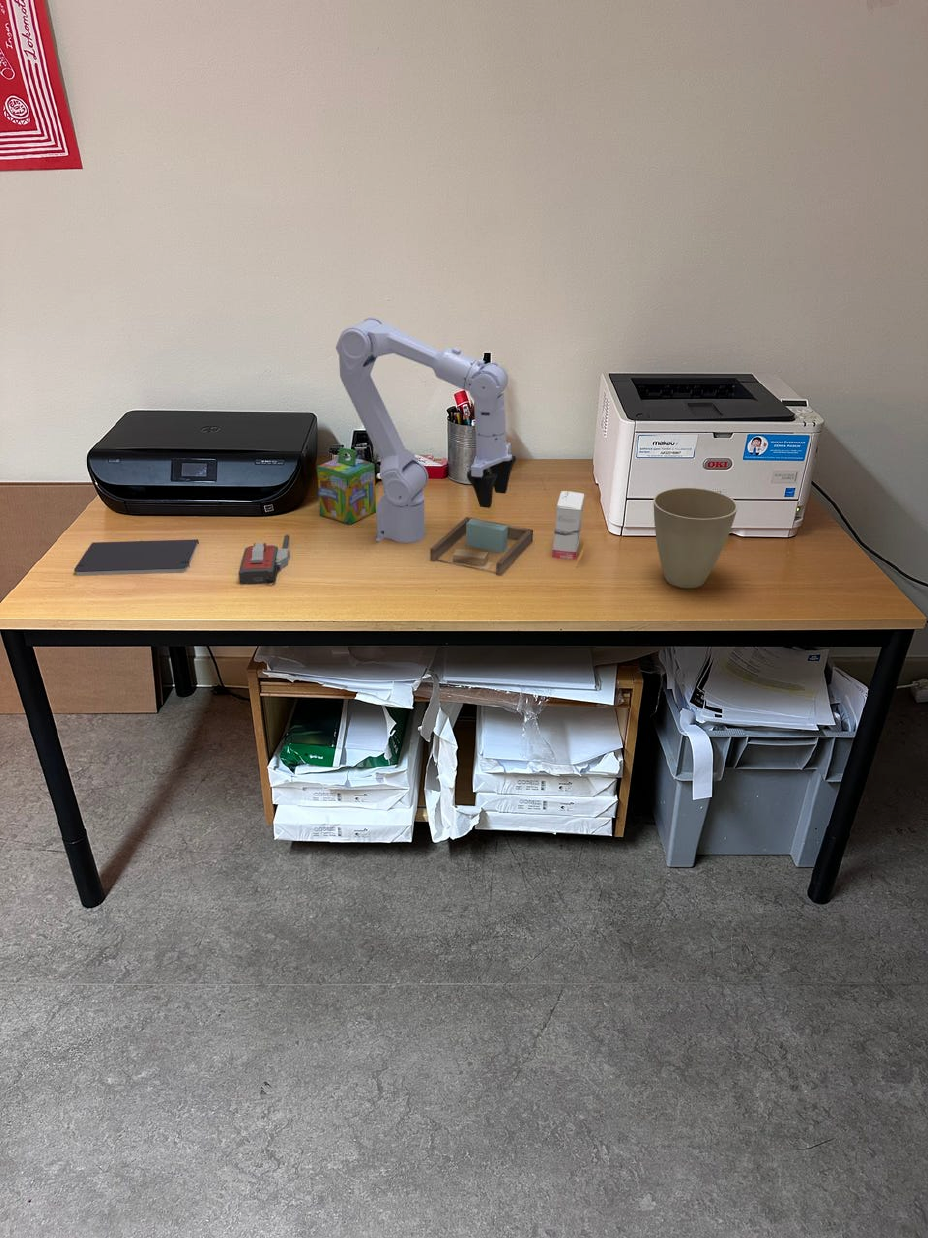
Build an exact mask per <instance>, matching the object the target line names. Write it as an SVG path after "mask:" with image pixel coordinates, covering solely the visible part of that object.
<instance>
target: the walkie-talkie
mask: <svg viewBox="0 0 928 1238" xmlns="http://www.w3.org/2000/svg"><path fill="white" fill-rule="evenodd" d="M290 536H291V535H289V534H285V535H284V538H283V544H282V548H278V546H276V545H272V544H271V545H268V544H266V543H267V542H255V543H253V545H250V546H249V545H248V546H247V547H245V548H244V551H243V555H242V558H241V561H240V562H241V563H240V567H239V570H238V578H239V583H240V584H241V585H262V584H263V585H264V584H273V583H275V582H276V581H277V575H278V571H282V570H283V569H285V568H287V567H288V565H289V561H290V559H291V554H290V548H289V543H290V542H289V541H290Z"/></svg>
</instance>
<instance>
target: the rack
mask: <svg viewBox="0 0 928 1238" xmlns="http://www.w3.org/2000/svg"><path fill="white" fill-rule="evenodd" d="M470 519H475V520H480V521H485V522H490V523H495V524H500V525H505V526H508V532H507V540H513V541H516V542H514V544H512V546H511V547H509V549H508V550H506V552H505V553H504V554H503V555H502V556H501V557H500V558H499V559H498V561H496V564H495V565H496V566H495V567H496V568H495V570H494V571H493V570H489V569H484V568H479V567H475V566H470V565H465V564H460V563H455V562H450V561H448V560H443V559H439V558H441V557H442V556H443V554H445V553H446V552H447V551H448V550H449V549H450V548H452V547H453V546H454V545H455V544H456V543H457V542H458V541H459V540H460V539H461V538H462V537H464V536H465V535H466V523H467V522H468V521H469V520H470ZM533 540H534V529H532V528H531V529H530V528H526V527H522V526H521V527H520V526H515V525H510V524H505V523H500V522H495V521H494V522H493V521H488V520H484V519H480V518H474V517H469V516H466V517H464V518H463V519H462V520H461V521H460V522H459V523H458V524H457V525H455V526H454V527H453V528H452V529H451V530H450V531H449V532H448V533H446V534H445V535H444V536H443V537H442V538H441V539H439V540H438V541H437V542H436V543H435V544H434V545H433V546H432V547H430V551H429V552H430V553H429V555H430V561H431V562H439V563H443V564H448V565H449V564H450V565H453V566H457V567H464V568H467V569H473V570H477V571H482V572H485V573H486V572H487V573H490V574H491V573H492V574H495V575H496V576H499V577H500V576H502V575H503V574H505V572H506V571H507V570H508V569H509V568H510V567H511V566H512V565H513V564H514V562H515V561H516V560H517V559H518V558H519V557H520V556H521V554H523V552H524V551H525V550H526V549H527V548H528V547H529V546H530V545H531V544H532V543H533Z"/></svg>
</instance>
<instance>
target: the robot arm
mask: <svg viewBox="0 0 928 1238" xmlns="http://www.w3.org/2000/svg"><path fill="white" fill-rule="evenodd" d="M335 349H336V351H337V354H338V357H339V358H338V359H339V377H340V380H341V382H342V384H343V386H344V388H345V390H346V392H347V395H348V397H349V398H350V400H351V403H352V404H353V407H354V409H355V410H356V413H357V415H358V417H359V419H360V422H361V423H362V426H363V427H364V429H365V431H366V433H367V435H368V437H369V439H370V442H371V444H372V446H373V447H374V449H375V452H376V454H377V456H378V458H379V460H380V467H379V477H380V478H381V482H382V486H383V487H382V491H383V496H381V497H380V499H379V500H378V503H377V505H376V524H377V525H376V526H377V527H376V529H377V530H376V531H377V537H376V539H375V541H376V542H379V543H380V542H381V541H382V540H383V539H389V540H392V541H395V542H397V543H402V544H406V543H407V544H411V543H416V542H420V541H422V540H423V539H424V538H425V537H426V532H425V531H426V528H425V527H426V526H425V525H426V521H425V516H426V515H425V494H424V488H425V487H426V486H427V484H428V481H429V473H428V470H427V469H426V467H425V466H424V465H423V464H421V463H420V461H419V460H418V458H417V457H416V455H415V454H414V453H413V452H412V451H410V450H408V449H406V448H405V446H404V443H403V441H402V438H401V437H400V435H399V432H398V430H397V429H396V428H397V427H396V426H395V424H394V422H393V420H392V418H391V415H390V414H389V411H388V410H387V407H386V406H385V403H384V401H383V398H382V397H381V395H380V393H379V391H378V388H377V387H376V385H375V382H374V379H373V378H372V375H371V374H372V370H373V368H374V366H375V363H376V361H377V358H378V357H383V356H386V355H391V354H393V355H394V354H395V355H396V356H397V355H398V356H400V357H402V358H405V359H408V360H410V361H412V362H416V363H418V364H421V365H423V366H426V367H429V368H431V369H432V370H433V372H434V375H435V377H436V378H437V379H439V380H441V381H444V382H446V383H448V384H451V385H453V386H455V387H457V388H459V389H462V390H464V391H466V392H468V393H469V395H470V397H471V398H472V399H473V401H474V402H473V403H474V410H473V411H474V412H473V413H474V426H475V427H474V430H475V434H474V435H475V450H476V452H475V456H474V460H473V464H472V465H471V466H470V470H469V471H467V472H466V478H467V480H468V481H469V482H470V484H471V486H472V487H473V489H474V493H475V495H476V499H477V502H478V505H479V507H480V508H487V509H490V508H491V507H492V502H493V495H494V493H493V492H495V494H503V495H504V494H506V493H507V490H508V486H509V479H510V475H511V472H512V470H513V467H514V464H515V463H516V460H517V457H516V456H515V455H513V454H511V452H512V450H511V448H512V447H511V445H512V444H511V443H510V442H507V433H506V432H507V427H506V426H507V425H506V422H507V421H506V406H505V405H506V404H505V393H504V391H505V390H506V388H507V387H508V383H509V378H508V377H509V376H508V374H507V372H506V370H505V369H504V368H503V367H502V366H501V365H499V364H498V363H497V362H488V363H485V362H486V361H485V360H483V359H478V360H476V359H475V358H473V357H471V356H468V355H466V354H465V353H462V349H460V348H459V347H454V348H450V347H448V348H447V347H446V348H445V349H443V350H439V349H437V348H435V347H434V346H431V345H429V344H428V343H425V342H423V341H421V340H420V339H417V338H415V337H414V336H411V335H410V334H407V333H405V332H404V331H403V330H401V329H398V328H397V327H395V326H394V325H393V324H392V323H389V322H386V321H385V322H384V321H382V320H380V319H379V318H375V317H369V318H366V319H364V320H363V321H361V322H359V323H357V324H355V325H354V326H353V325H352V326H350V327H349V326H348V327H346V328H345V329H344V330H343V331H342V332H341V334H340V336H339V338H338V341H337V343H336V346H335ZM488 469H490V471H491V473H490V471H489V470H488Z"/></svg>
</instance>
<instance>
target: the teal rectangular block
mask: <svg viewBox="0 0 928 1238" xmlns="http://www.w3.org/2000/svg"><path fill="white" fill-rule="evenodd" d="M475 519H476V518H474V519H470V520H469V521H468V522H467V523H466V534H465V546H467V547H471V548H476V549H480V550H484V551H485V550H486V551H490V552H496V553H500V554H503V553H504V552H505V551H507V549H508V539H507V532H508V526H505V525H506V524H505V525H500V524H501V523H500V524H495V523H496V522H495V523H490V522H491V521H490V522H485V521H486V520H485V521H480V520H481V519H480V520H475Z"/></svg>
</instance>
